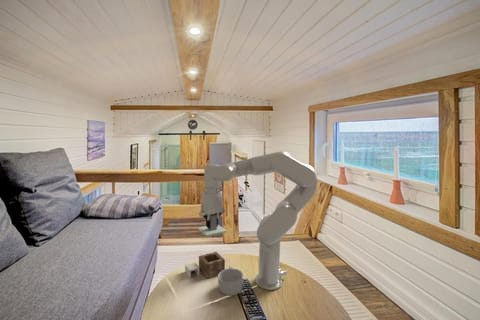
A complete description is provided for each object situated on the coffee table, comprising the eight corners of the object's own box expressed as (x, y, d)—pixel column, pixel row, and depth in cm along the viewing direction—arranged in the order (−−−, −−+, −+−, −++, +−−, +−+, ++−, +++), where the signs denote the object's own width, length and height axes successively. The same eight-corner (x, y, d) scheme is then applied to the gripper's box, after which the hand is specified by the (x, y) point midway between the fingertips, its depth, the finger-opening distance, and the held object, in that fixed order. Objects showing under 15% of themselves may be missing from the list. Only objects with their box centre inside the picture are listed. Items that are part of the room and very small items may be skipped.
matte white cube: (194, 271, 124) (194, 261, 124) (199, 277, 119) (199, 267, 118) (185, 274, 121) (185, 264, 121) (189, 280, 116) (189, 270, 116)
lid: (217, 225, 127) (217, 210, 127) (226, 232, 118) (226, 216, 118) (198, 229, 122) (198, 213, 121) (206, 236, 113) (206, 220, 112)
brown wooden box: (216, 266, 129) (216, 251, 128) (224, 275, 121) (224, 259, 120) (198, 271, 124) (198, 256, 123) (206, 280, 116) (206, 264, 115)
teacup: (240, 301, 102) (240, 282, 101) (214, 298, 104) (215, 280, 103) (245, 281, 116) (245, 265, 115) (222, 279, 117) (222, 263, 117)
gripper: (223, 186, 126) (223, 221, 127) (193, 190, 117) (193, 227, 119) (231, 189, 119) (230, 226, 121) (199, 193, 111) (199, 232, 113)
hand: (212, 226), depth 120 cm, fingers closed on lid, 3 cm apart
